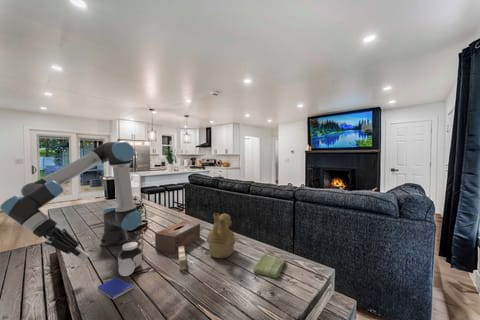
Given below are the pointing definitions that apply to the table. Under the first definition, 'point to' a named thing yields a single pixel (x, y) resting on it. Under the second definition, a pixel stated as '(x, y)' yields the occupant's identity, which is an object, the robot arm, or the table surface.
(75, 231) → the table surface
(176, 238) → the tissue box cover
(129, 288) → the hard drive
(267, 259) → the washcloth
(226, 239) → the ceramic vessel
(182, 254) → the ash stop
